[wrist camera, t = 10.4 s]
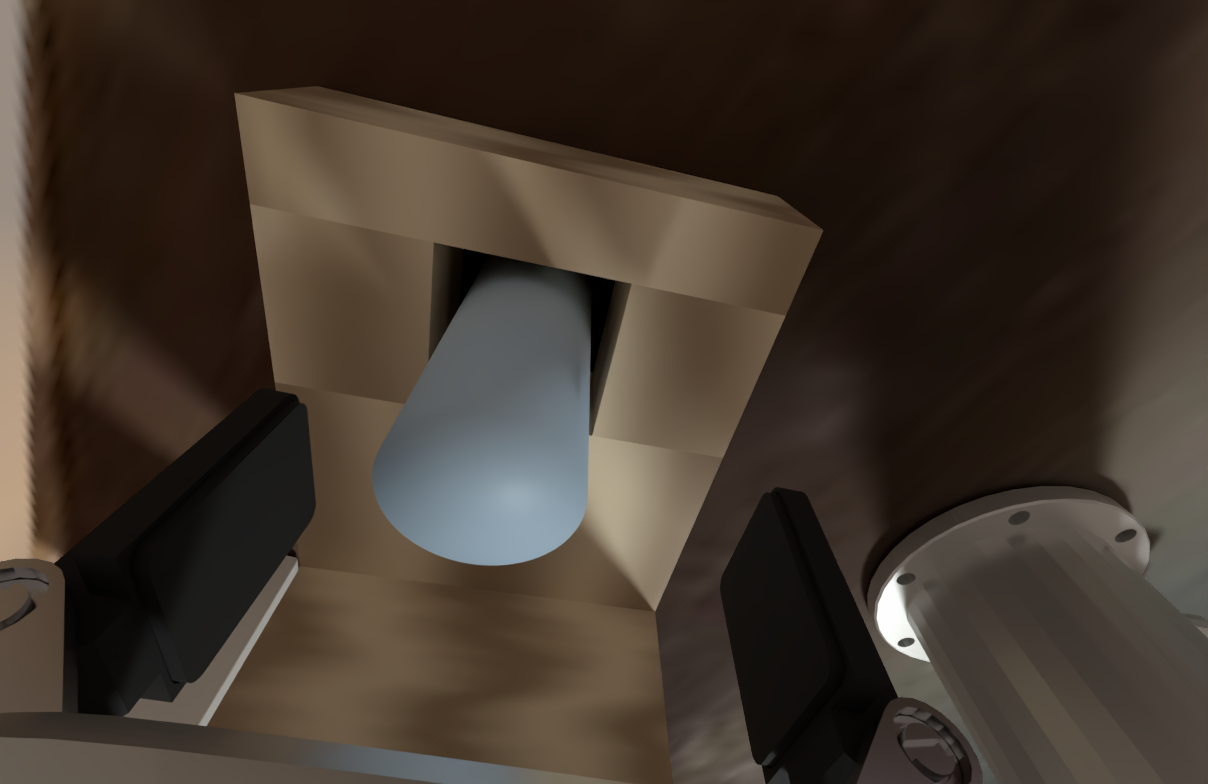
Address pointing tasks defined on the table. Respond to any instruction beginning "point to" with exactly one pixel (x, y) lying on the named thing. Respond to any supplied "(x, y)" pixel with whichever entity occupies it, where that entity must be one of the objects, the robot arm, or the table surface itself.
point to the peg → (497, 422)
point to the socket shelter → (394, 365)
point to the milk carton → (221, 660)
